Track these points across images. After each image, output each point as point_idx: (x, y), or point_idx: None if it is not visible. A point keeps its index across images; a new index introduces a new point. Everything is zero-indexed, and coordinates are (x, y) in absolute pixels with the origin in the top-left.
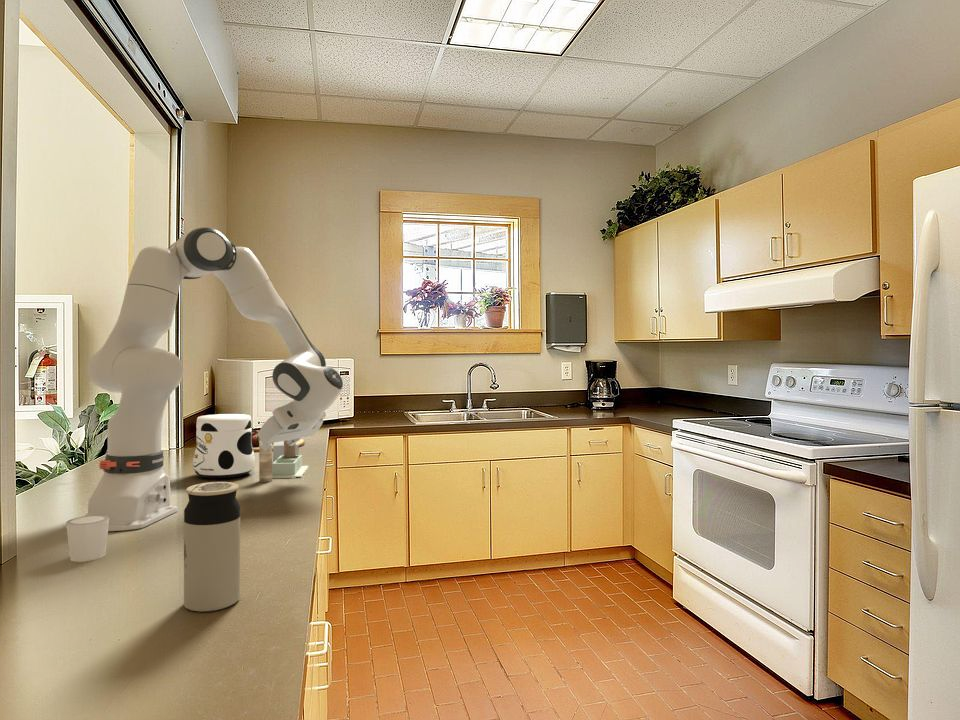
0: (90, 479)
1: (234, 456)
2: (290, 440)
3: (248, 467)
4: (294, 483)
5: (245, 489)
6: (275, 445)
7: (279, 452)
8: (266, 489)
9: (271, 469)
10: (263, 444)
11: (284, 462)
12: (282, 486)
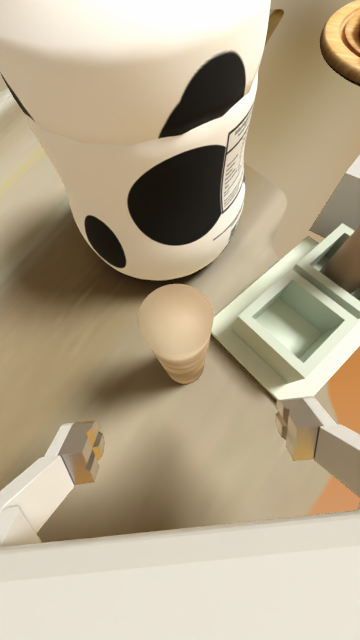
0: (14, 118)
1: (125, 246)
2: (295, 439)
3: (185, 271)
4: (223, 474)
5: (77, 412)
6: (356, 173)
7: (351, 203)
8: (108, 471)
9: (192, 376)
10: (54, 441)
11: (306, 297)
12: (167, 479)
